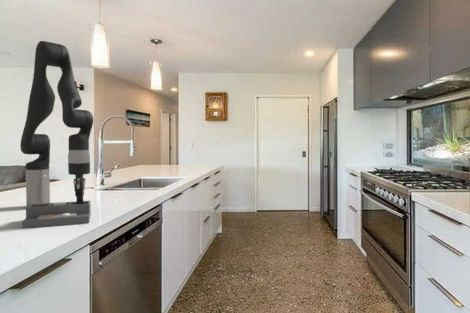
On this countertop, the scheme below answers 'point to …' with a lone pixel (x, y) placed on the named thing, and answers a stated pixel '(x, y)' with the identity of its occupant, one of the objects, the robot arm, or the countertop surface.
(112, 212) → the countertop surface
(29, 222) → the keypad
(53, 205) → the key sage
